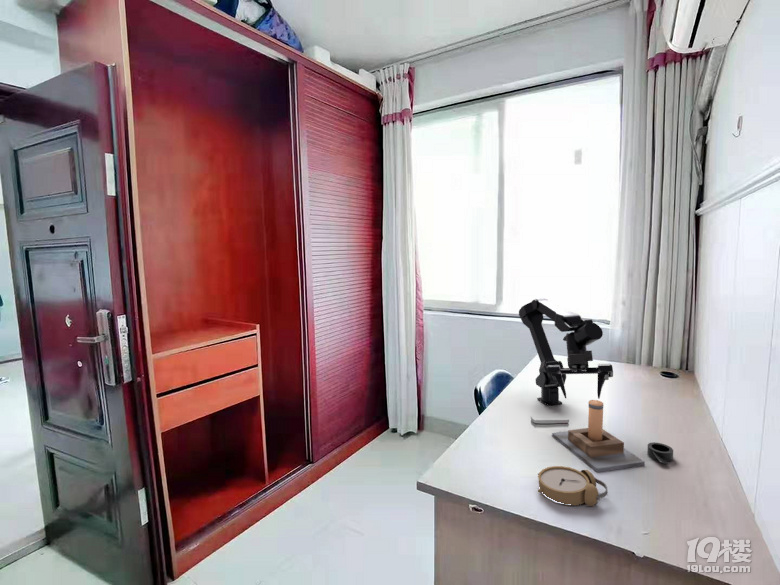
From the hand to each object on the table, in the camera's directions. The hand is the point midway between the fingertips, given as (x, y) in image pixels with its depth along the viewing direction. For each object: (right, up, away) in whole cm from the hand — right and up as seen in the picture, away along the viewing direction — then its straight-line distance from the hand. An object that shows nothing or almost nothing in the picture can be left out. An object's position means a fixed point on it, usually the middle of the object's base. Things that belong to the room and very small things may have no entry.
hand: (581, 398), depth 120 cm
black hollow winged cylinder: (+15, -13, -13) cm, 24 cm away
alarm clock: (-16, -16, -27) cm, 35 cm away
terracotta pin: (-1, -11, -9) cm, 14 cm away
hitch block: (-1, -12, -8) cm, 15 cm away
